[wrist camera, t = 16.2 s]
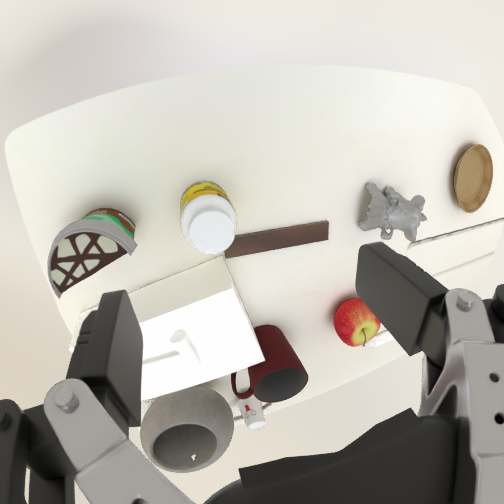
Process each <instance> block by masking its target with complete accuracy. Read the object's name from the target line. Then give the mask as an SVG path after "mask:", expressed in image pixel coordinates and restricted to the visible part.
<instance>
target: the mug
mask: <svg viewBox="0 0 504 504" xmlns="http://www.w3.org/2000/svg"><path fill="white" fill-rule="evenodd" d="M254 332H255V335H256V337H257V340H258V343H259V345H260V348H261V351H262V353H263V356H264V359H265V361H263V362H260V363H258V364H255V365H252V366H250V367H247V368H248V373H249V378H250V388H249V389H248V390H247V391H246V392H244V393H237V389H236V373H237V371H236V372H233V373H231V384H232V389H233V392H234V394H235V395H236V396H237V397H238V398H239V399H247V398H249V397H251V396H252V394H253V393H254V396H255V397H256V398H257V399H258V400H260V401H263V402H269V403H272V402H280V401H283V400H286V399H289V398H291V397H293V396H295V395H296V394H298V393H299V392H300V391H301V390H302V389H303V388H304V387H305V385H306V384H307V381H308V374H307V372H306V370H305V368H304V367H303V365H302V363H301V361H300V360H299V358H298V356H297V355H296V353H295V352H294V350H293V348H292V347H291V345H290V344H289V342H288V341H287V339H286V338H285V336H284V334H283V333H282V331H281V330H280V329H279V328H277V327H275V326H272V325H264V326H259V327H257V328H255V329H254Z"/></svg>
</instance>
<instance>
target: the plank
mask: <svg viewBox="0 0 504 504" xmlns="http://www.w3.org/2000/svg"><path fill="white" fill-rule="evenodd" d="M328 228H329V222H328V221H322V222H315V223H309V224H303V225H297V226H291V227H285V228H279V229H273V230H267V231H261V232H255V233H249V234H243V235H238V236H235V237H234V240H233V242H232V244H231V245H230V246H229V247H228V248H227V249H226V250H224V252H225V258H232V257H237V256H243V255H248V254H254V253H259V252H264V251H270V250H275V249H281V248H286V247H292V246H297V245H302V244H308V243H313V242H319V241H324V240H328Z"/></svg>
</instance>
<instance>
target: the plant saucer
mask: <svg viewBox="0 0 504 504" xmlns="http://www.w3.org/2000/svg"><path fill="white" fill-rule="evenodd" d="M492 178H493V164H492V159H491V156H490V153H489V151H488V150H487V148H486V147H485V146H483V145H481V144H476V145H473V146H472V147H470V148H469V149H467V150H466V151H465V152H464V154H463V155H462V156H461V158H460V159H459V161H458V164H457V166H456V170H455V175H454V188H455V193H456V197H457V200H458V203H459V205H460V207H461V208H462V209H463V210H464V211H465V212H467V213H472V212H475V211H476V210H478V209H479V208H480V207H481V206H482V205H483V203H484V202H485V200H486V198H487V196H488V194H489V191H490V188H491V184H492Z"/></svg>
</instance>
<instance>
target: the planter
mask: <svg viewBox="0 0 504 504" xmlns="http://www.w3.org/2000/svg"><path fill="white" fill-rule="evenodd" d="M233 430H234V419H233V414H232V411H231V408H230V406H229V405H228V403H227V402H226V400H225V399H224V398H223V397H222V396H221V395H220V394H218V393H217V392H215V391H213V390H211V389H208V388H205V387H200V386H192V387H189V388H185V389H182V390H179V391H175V392H172V393H169V394H165V395H162V396H161V397H159V398H158V399H157V400H156V401H155V402H154V403H153V404H152V405H151V406H150V407H149V409H148V410H147V412H146V414H145V416H144V418H143V421H142V424H141V430H140V437H141V443H142V447H143V449H144V451H145V453H146V455H147V456H148V458H149V459H150V460H151V461H152V462H153V463H154V464H155V465H156V466H158V467H159V468H161V469H164V470H166V471H170V472H176V473H187V472H193V471H197V470H200V469H203V468H205V467H207V466H209V465H211V464H212V463H214V462H215V461H216V460H218V459H219V458H220V457H221V456H222V455H223V453H224V452H225V451H226V449H227V447H228V446H229V444H230V441H231V439H232V435H233ZM192 455H196V456H195V460H194V461H193V459H192V458H191V456H192Z"/></svg>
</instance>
